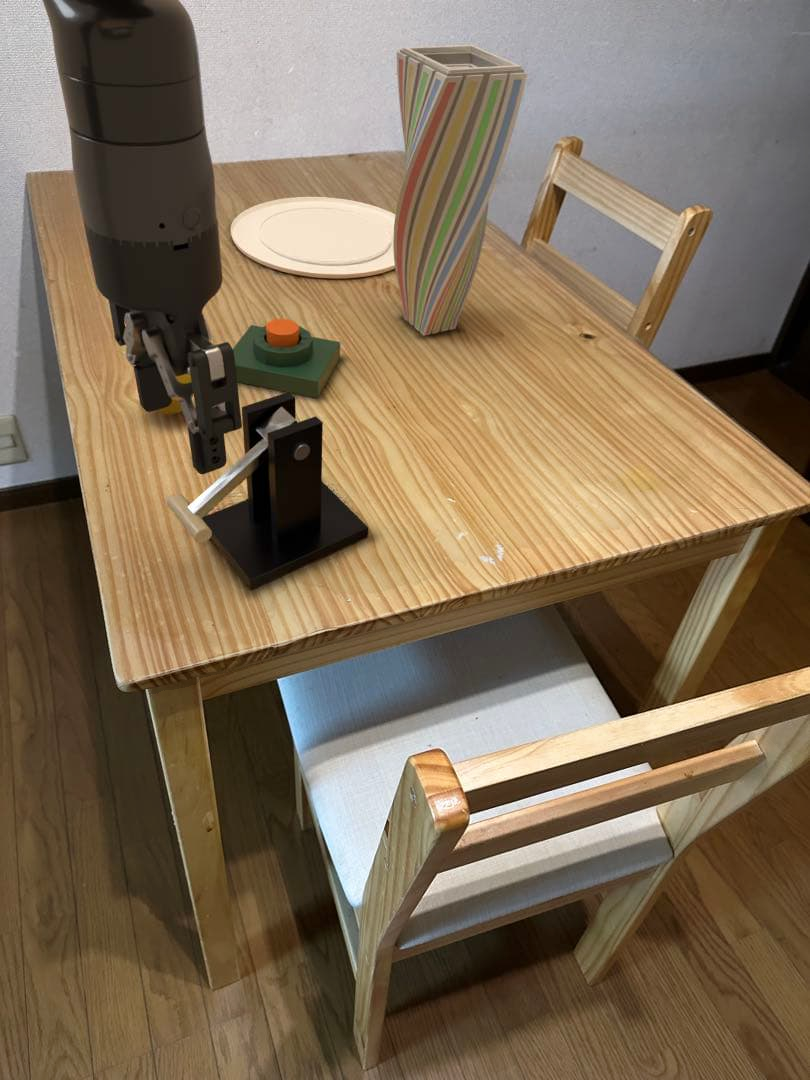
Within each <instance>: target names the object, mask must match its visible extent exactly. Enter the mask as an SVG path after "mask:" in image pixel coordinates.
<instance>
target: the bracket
mask: <svg viewBox="0 0 810 1080" xmlns="http://www.w3.org/2000/svg"><path fill="white" fill-rule="evenodd" d="M280 407H283V408H284V409H285V410H286V411H287V412H288V413H289V414H290V415H291V416H292V417H293V418H294V419H295V420H296V421H297V419H296V418H297V417H296V416H297V414H296V396H295V395H293V393H290V392H284V393H281V394H278V395H274V396H272V397H269V398H266V399H261V400H259V401H257V402H253V403H250V404H246V405H244V406H241V421H242V433H243V446H244V448H243V449H244V455H245V454H246V453H247V452H248V451H250V450H251V449H252V448H253V447H254V446H255V445H256V444H257V443H258V442H260V441H261V440H262V439H263V438H262V437H261V435H260V434H259V433H258V432H257V431H256V429H257V428H258V427H259V426H260V425H261V424H263V423H264V422H265V421H266V420H267V419H268V418H269V417H270V416H271V415H272V414H274V413H275V412H276V411H277V410H278V409H279V408H280ZM297 422H298V423H295V424H292V425H289V426H286V427H283V428H280V429H278V430H275V431H272V432H269V433H267V435H268V459H267V460H266V461H265V462H264V463H263V464H261V465H260V466H259V467H258V468H257V469H256V470H255V471H254V472H253V473H252V474H250V475H249V476H248V477H247V478H246V490H247V499H245V500H243V501H240V502H238V503H235V504H231V505H230V506H227V507H225V508H222V509H219V510H217V511H214V512H212V513H208V514H206V515H205V516H204V517H203V518H202V520H203V521H204V522H205V523H206V525H207V526H208V527H209V528H210V530H211V531H212V535H211V537H210V539H209V540H210V541H211V542H212V543H213V545H214V546H215V547H216V548H217V549H218V551H219V552H220V554H222V556H223V558H225V560H226V561H227V563H229V565H230V566H231V567H232V568H233V570H234V571H235V572H236V573H237V574H238V576H239V577H240V578H241V579H242V581H243V582H244V583H245V584H246V586H247V587H248V589H250V590H254V589H256V588H259V587H261V586H263V585H265V584H267V583H269V582H272V581H274V580H277V579H278V578H281V577H283V576H285V575H287V574H289V573H291V572H294V571H296V570H298V569H300V568H303V567H304V566H307V565H309V564H312V563H314V562H316V561H318V560H320V559H322V558H324V557H327V556H329V555H331V554H333V553H336V552H337V551H340V550H342V549H344V548H346V547H349V546H351V545H353V544H355V543H357V542H359V541H360V542H361V541H362V540H364V539H366V538H368V536H369V527H368V525H367V524H366V523H365V522H363V520H362V519H360V517H358V515H357V514H356V513H355V512H354V511H352V510H351V508H349V507H348V506H347V505H346V504H345V502H344V501H343V500H341V498H340V497H339V496H337V494H336V493H334V492H333V490H331V488H330V487H328V486H327V484H325V483H324V482H323V478H322V477H323V432H324V431H323V430H324V427H323V425H324V424H323V421H322V420H321V419H320V418H319V417H318V416H315V415H314V416H312V417H310V418H306V419H304V420H300V421H297Z"/></svg>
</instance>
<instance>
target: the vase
mask: <svg viewBox="0 0 810 1080" xmlns="http://www.w3.org/2000/svg"><path fill="white" fill-rule="evenodd" d="M522 67H523V66H522V65H520V64H517V63H515V62H513V61H510V60H509V59H506V58H504V57H501V56H499V55H496V54H494V53H492V52H490V51H487V50H486V49H483V48H481V47H478V46H476V45H473V44H459V45H434V46H433V45H432V46H431V45H430V46H429V45H428V46H404V47H402V48H401V49H399V51H396V76H397V89H398V101H399V102H398V104H399V112H400V121H401V127H402V134H403V135H402V136H403V141H404V153H405V155H404V174H403V180H402V183H401V188H400V192H399V196H398V201H397V204H396V210H395V215H396V216H395V223H394V238H393V247H394V263H395V269H394V270H395V277H396V281H397V282H396V283H397V288H398V292H399V296H400V302H401V305H402V306H401V307H402V313H403V314H402V315H403V319H404V320H405V321H406V322H408V323H409V325H411V326H412V327H414V329H416V330H417V331H418V332H419V333H420V334H421V336H429V335H433V334H437V333H440V332H446V331H451V330H456V328H457V325H458V322H459V318H460V316H461V314H462V310H463V308H464V306H465V303H466V301H467V298H468V295H469V293H470V291H471V288H472V285H473V282H474V279H475V275H476V272H477V270H478V266H479V261H480V258H481V254H482V251H483V246H484V240H485V235H486V230H487V222H488V213H489V203H490V202H489V201H490V198H491V196H492V194H493V191H494V189H495V187H496V184H497V181H498V179H499V176H500V174H501V170H502V167H503V164H504V161H505V159H506V155H507V152H508V149H509V146H510V142H511V140H512V136H513V133H514V128H515V125H516V121H517V118H518V114H519V110H520V107H521V103H522V100H523V99H522V98H523V94H524V90H525V86H526V81H527V76H528V73H527V72H525V69H524V68H522Z"/></svg>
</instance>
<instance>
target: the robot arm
mask: <svg viewBox="0 0 810 1080" xmlns="http://www.w3.org/2000/svg"><path fill="white" fill-rule="evenodd" d="M42 3H43V6H44V8H45V12H46V15H47V17H48V18H47V19H48V21H49V25H50V29H51V35H52V41H53V42H52V43H53V52H54V57H55V62H56V68H57V72H58V79H59V82H60V87H61V92H62V98H63V101H64V107H65V112H66V116H67V122H68V128H69V135H70V147H71V148H70V149H71V162H72V171H73V178H74V183H75V187H76V192H77V197H78V202H79V207H80V213H81V217H82V222H83V226H84V231H85V236H86V241H87V246H88V252H89V257H90V261H91V266H92V271H93V276H94V281H95V285H96V288H97V290H98V291H99V292H100V294H101V295H102V297H104V298H105V299H106V300H108V305H109V311H110V316H111V321H112V322H111V323H112V328H113V333H114V335H113V336H114V340H115V342H117V344H118V346H119V347H123V346H126V348H125V357H126V360H127V362H129V364H130V365H131V366H132V367H133V372H134V379H135V381H136V382H135V384H136V388H137V393H138V394H137V395H138V400H139V405H140V406H141V408H142V409H143V410H144V411H145V412H147V413H153V412H156V410H159V409H162V408H165V407H168V406H169V405H170V404H171V403H172V399H173V400H177V401H178V402H179V403H180V406H181V408H182V410H181V411H182V413H183V416H184V419H185V421H186V425H187V433H188V440H189V447H190V448H189V449H190V455H191V463H192V467H193V468H194V469H195V471H196V472H197V473H198V474H199V475H207V474H209V473H212V472H214V471H217V470H219V469H222V468H224V467H225V466H226V464H227V461H228V460H227V451H226V442H225V441H226V439H225V434H227V433H230V432H233V431H234V432H235V431H237V430H241V429H243V421H242V411H241V403H240V395H239V387H238V386H239V385H238V382H237V375H236V366H235V357H234V351H233V347H232V345H231V343H230V342H228V341H226V342H225V341H224V342H222V343H218V344H213V343H212V342H211V340H212V334H211V331H210V329H209V325H208V322H207V321H206V319H205V317H204V314H203V310H204V308H205V306H206V305H207V304H208V303H209V301H210V300H211V299H212V298H213V297H215V296H216V295H217V294H218V293H219V291H220V290H221V288H222V285H223V268H222V267H223V265H222V254H221V243H220V230H219V229H220V228H219V217H218V209H217V195H216V182H215V172H214V166H213V161H212V155H211V151H210V147H209V142H208V137H207V130H206V129H207V128H206V118H205V117H206V116H205V106H204V95H203V83H202V73H201V63H200V53H199V47H198V46H199V45H198V40H197V35H196V31H195V27H194V23H193V20H192V18H191V16H190V14H189V12H188V10H187V9H186V7H185V6H184V5H183V3H182V2H181V1H180V0H42ZM184 374H189V375H191V381H192V382H189V383H186V384H183V383H180V382H179V381H178V380H177V378H176V376H181V375H184ZM192 394H193V398H192V399H191V396H192ZM193 399H194V400H193ZM193 401H194V402H193Z"/></svg>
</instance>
